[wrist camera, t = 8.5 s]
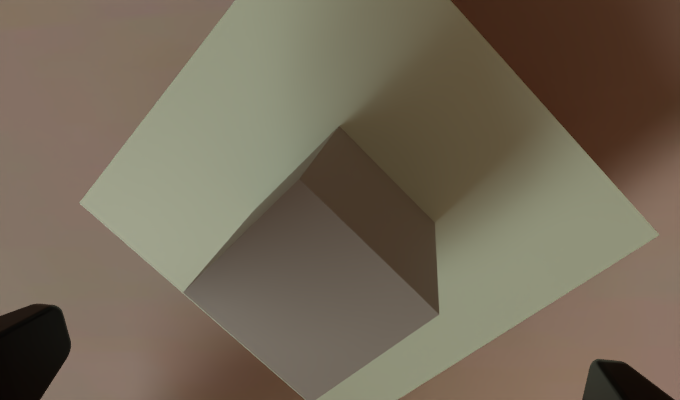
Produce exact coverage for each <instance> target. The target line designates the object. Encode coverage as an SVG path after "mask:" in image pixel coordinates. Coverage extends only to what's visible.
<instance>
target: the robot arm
mask: <svg viewBox="0 0 680 400" xmlns="http://www.w3.org/2000/svg"><path fill="white" fill-rule="evenodd" d="M70 348H71V341H70V337H69V333H68V330H67V326H66V323H65V319H64V315H63V312H62V310H61V309H60V308H59V307H58V306H55V305H48V304H33V305H30V306H27V307H24V308H21V309H18V310H16V311H13V312H10V313H7V314H5V315H2V316H0V400H40V399H41V397H42V396H43V394H44V393H45V391H46V390H47V388H48V387H49V385H50V383H51V382H52V380H53V379H54V377H55V376H56V374H57V373H58V371H59V369H60V368H61V366H62V365H63V363H64V362H65V360H66V359H67V357H68V355H69V352H70ZM582 400H674V399H673V398H672V397H670V396H669V395H668V394H666V393H665V392H664V391H662V390H661V389H660V388H658V387H657V386H656V385H654V384H653V383H652V382H650V381H649V380H648V379H646V378H645V377H644V376H642V375H641V374H640V373H639V372H637V371H636V370H635V369H633V368H632V367H631V366H629V365H628V364H626V363H624V362H622V361H614V360H604V359H596V360H594V361H593V362H592V364H591V365H590V369H589V373H588V377H587V381H586V386H585V390H584V394H583V399H582Z"/></svg>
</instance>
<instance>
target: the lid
mask: <svg viewBox="0 0 680 400" xmlns="http://www.w3.org/2000/svg"><path fill="white" fill-rule="evenodd" d="M80 204H81V205H82V206H83V207H84V208H86V209H87V210H88V211H89V212H90V213H91V214H92V215H94V216H95V217H96V218H97V219H98V220H99V221H100V222H102V223H103V224H104V225H105V226H106V227H107V228H108V229H110V230H111V231H112V232H113V233H114V234H115V235H117V236H118V237H119V238H120V239H121V240H122V241H123V242H125V243H126V244H127V245H128V246H129V247H130V248H131V249H133V250H134V251H135V252H136V253H137V254H138V255H139V256H141V257H142V258H143V259H144V260H145V261H146V262H148V263H149V264H150V265H151V266H152V267H153V268H154V269H156V270H157V271H158V272H159V273H160V274H161V275H162V276H164V277H165V278H166V279H167V280H168V281H169V282H170V283H172V284H173V285H174V286H175V287H176V288H177V289H178V290H180V291H181V292H182V293H183V294H184V295H185V296H187V297H188V298H189V299H190V300H191V301H192V302H193V303H195V304H196V305H197V306H198V307H199V308H200V309H201V310H203V311H204V312H205V313H206V314H207V315H208V316H209V317H211V318H212V319H213V320H214V321H215V322H216V323H217V324H219V325H220V326H221V327H222V328H223V329H224V330H226V331H227V332H228V333H229V334H230V335H231V336H232V337H234V338H235V339H236V340H237V341H238V342H239V343H240V344H242V345H243V346H244V347H245V348H246V349H247V350H248V351H250V352H251V353H252V354H253V355H254V356H255V357H257V358H258V359H259V360H260V361H261V362H262V363H263V364H265V365H266V366H267V367H268V368H269V369H270V370H271V371H273V372H274V373H275V374H276V375H277V376H278V377H279V378H281V379H282V380H283V381H284V382H285V383H286V384H287V385H289V386H290V387H291V388H292V389H293V390H294V391H296V392H297V393H298V394H299V395H300V396H301V397H302V398H304V399H305V400H398V399H399V398H401V397H403V396H404V395H406V394H407V393H409V392H411V391H412V390H414V389H415V388H417V387H419V386H420V385H422V384H423V383H425V382H426V381H428V380H430V379H431V378H433V377H434V376H436V375H438V374H439V373H441V372H442V371H444V370H446V369H447V368H449V367H450V366H452V365H454V364H455V363H457V362H458V361H460V360H461V359H463V358H465V357H466V356H468V355H469V354H471V353H473V352H474V351H476V350H477V349H479V348H481V347H482V346H484V345H485V344H487V343H489V342H490V341H492V340H493V339H495V338H496V337H498V336H500V335H501V334H503V333H504V332H506V331H508V330H509V329H511V328H512V327H514V326H516V325H517V324H519V323H520V322H522V321H524V320H525V319H527V318H528V317H530V316H531V315H533V314H535V313H536V312H538V311H539V310H541V309H543V308H544V307H546V306H547V305H549V304H551V303H552V302H554V301H555V300H557V299H559V298H560V297H562V296H563V295H565V294H567V293H568V292H570V291H571V290H573V289H574V288H576V287H578V286H579V285H581V284H582V283H584V282H586V281H587V280H589V279H590V278H592V277H594V276H595V275H597V274H598V273H600V272H602V271H603V270H605V269H606V268H608V267H609V266H611V265H613V264H614V263H616V262H617V261H619V260H621V259H622V258H624V257H625V256H627V255H629V254H630V253H632V252H633V251H635V250H637V249H638V248H640V247H641V246H643V245H644V244H646V243H648V242H649V241H651V240H652V239H654V238H656V237H657V236H659V234H658V233H657V232H656V231H655V230H654V228H653V227H652V226H651V225H650V224H649V223H648V222H647V221H646V219H645V218H644V217H643V216H642V215H641V214H640V213H639V212H638V210H637V209H636V208H635V207H634V206H633V205H632V204H631V203H630V201H629V200H628V199H627V198H626V197H625V196H624V195H623V194H622V192H621V191H620V190H619V189H618V188H617V187H616V186H615V185H614V183H613V182H612V181H611V180H610V179H609V178H608V177H607V176H606V174H605V173H604V172H603V171H602V170H601V169H600V168H599V167H598V165H597V164H596V163H595V162H594V161H593V160H592V159H591V158H590V156H589V155H588V154H587V153H586V152H585V151H584V150H583V149H582V147H581V146H580V145H579V144H578V143H577V142H576V141H575V140H574V138H573V137H572V136H571V135H570V134H569V133H568V132H567V131H566V130H565V128H564V127H563V126H562V125H561V124H560V123H559V122H558V121H557V119H556V118H555V117H554V116H553V115H552V114H551V113H550V112H549V110H548V109H547V108H546V107H545V106H544V105H543V104H542V103H541V101H540V100H539V99H538V98H537V97H536V96H535V95H534V94H533V92H532V91H531V90H530V89H529V88H528V87H527V86H526V85H525V83H524V82H523V81H522V80H521V79H520V78H519V77H518V76H517V74H516V73H515V72H514V71H513V70H512V69H511V68H510V67H509V65H508V64H507V63H506V62H505V61H504V60H503V59H502V58H501V56H500V55H499V54H498V53H497V52H496V51H495V50H494V49H493V47H492V46H491V45H490V44H489V43H488V42H487V41H486V40H485V38H484V37H483V36H482V35H481V34H480V33H479V32H478V31H477V29H476V28H475V27H474V26H473V25H472V24H471V23H470V22H469V20H468V19H467V18H466V17H465V16H464V15H463V14H462V13H461V11H460V10H459V9H458V8H457V7H456V6H455V5H454V4H453V2H452V1H451V0H235V1H234V3H233V4H232V5H231V7H230V8H229V9H228V10H227V12H226V13H225V14H224V16H223V17H222V18H221V20H220V21H219V22H218V23H217V25H216V26H215V27H214V29H213V30H212V31H211V32H210V34H209V35H208V36H207V38H206V39H205V40H204V42H203V43H202V44H201V45H200V47H199V48H198V49H197V51H196V52H195V53H194V55H193V56H192V57H191V58H190V60H189V61H188V62H187V64H186V65H185V66H184V68H183V69H182V70H181V71H180V73H179V74H178V75H177V77H176V78H175V79H174V81H173V82H172V83H171V84H170V86H169V87H168V88H167V90H166V91H165V92H164V94H163V95H162V96H161V97H160V99H159V100H158V101H157V103H156V104H155V105H154V107H153V108H152V109H151V110H150V112H149V113H148V114H147V116H146V117H145V118H144V120H143V121H142V122H141V123H140V125H139V126H138V127H137V129H136V130H135V131H134V133H133V134H132V135H131V136H130V138H129V139H128V140H127V142H126V143H125V144H124V146H123V147H122V148H121V149H120V151H119V152H118V153H117V155H116V156H115V157H114V159H113V160H112V161H111V162H110V164H109V165H108V166H107V168H106V169H105V170H104V172H103V173H102V174H101V175H100V177H99V178H98V179H97V181H96V182H95V183H94V185H93V186H92V187H91V188H90V190H89V191H88V192H87V194H86V195H85V196H84V198H83V199H82V200H81V201H80Z"/></svg>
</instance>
